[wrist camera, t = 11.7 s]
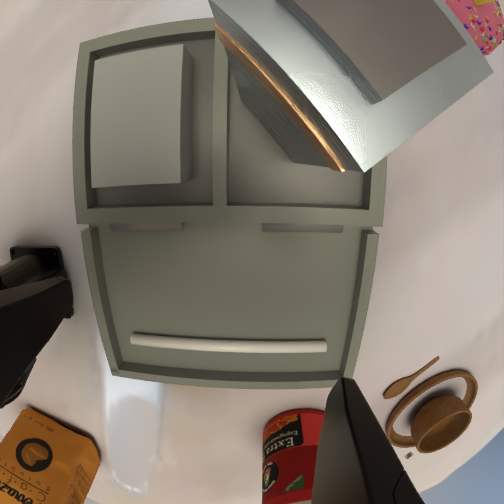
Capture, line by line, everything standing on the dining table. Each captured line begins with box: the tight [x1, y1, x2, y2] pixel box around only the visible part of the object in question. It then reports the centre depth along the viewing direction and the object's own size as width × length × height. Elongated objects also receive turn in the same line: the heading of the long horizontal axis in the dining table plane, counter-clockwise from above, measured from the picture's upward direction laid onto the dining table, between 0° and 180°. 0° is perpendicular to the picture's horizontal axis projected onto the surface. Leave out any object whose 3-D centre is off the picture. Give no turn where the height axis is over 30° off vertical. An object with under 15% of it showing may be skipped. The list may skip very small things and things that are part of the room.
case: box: [73, 18, 387, 389], centre depth 18 cm, size 20×26×4 cm
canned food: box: [262, 409, 325, 504], centre depth 21 cm, size 8×8×11 cm
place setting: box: [384, 356, 478, 459], centre depth 24 cm, size 18×20×6 cm
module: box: [208, 0, 493, 173], centre depth 10 cm, size 5×5×14 cm
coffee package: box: [0, 408, 100, 504], centre depth 19 cm, size 10×12×22 cm
